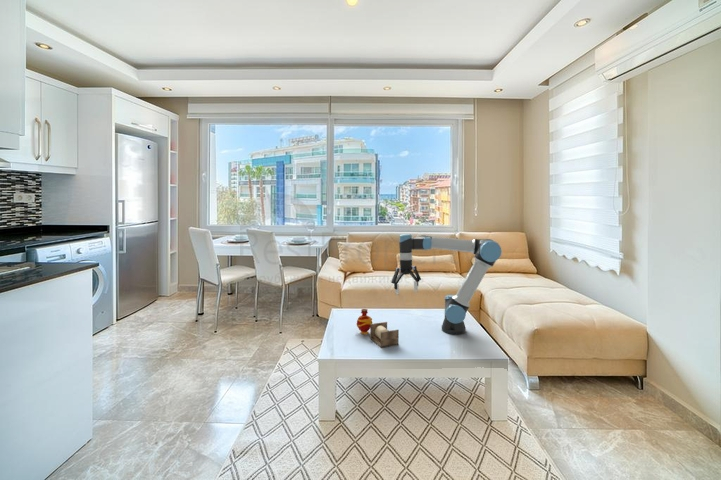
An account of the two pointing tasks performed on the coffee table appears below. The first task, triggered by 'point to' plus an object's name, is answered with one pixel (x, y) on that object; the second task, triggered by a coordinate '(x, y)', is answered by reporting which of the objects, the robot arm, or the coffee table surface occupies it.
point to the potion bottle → (364, 322)
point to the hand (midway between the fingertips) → (406, 293)
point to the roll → (379, 330)
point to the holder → (384, 336)
